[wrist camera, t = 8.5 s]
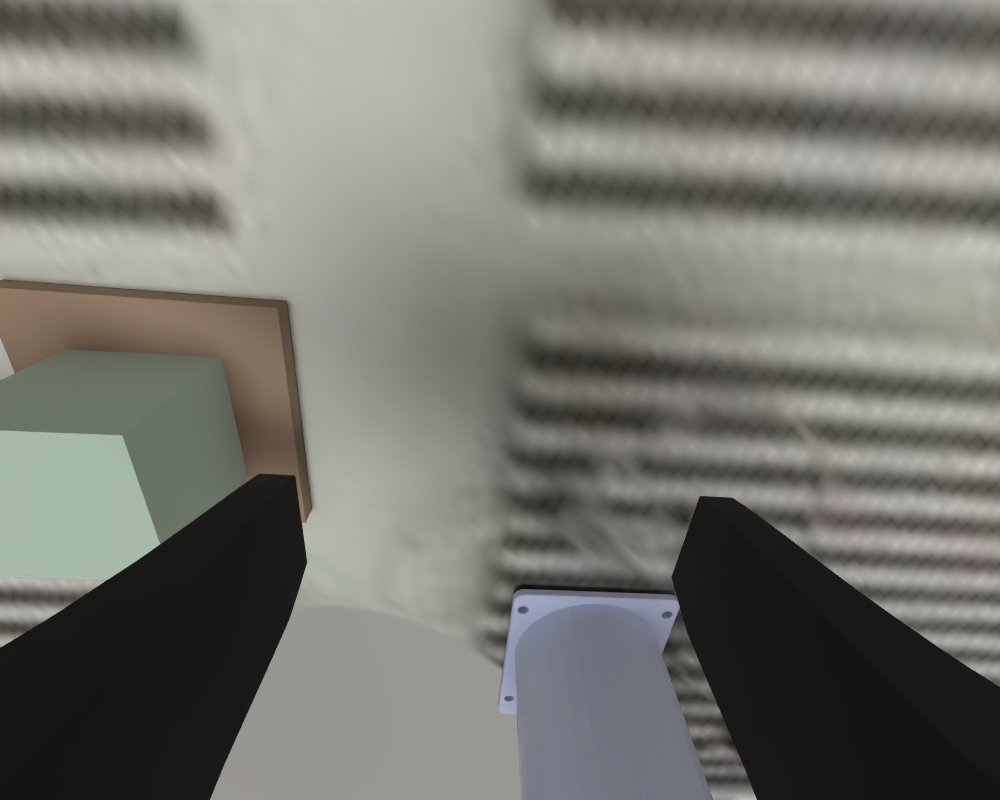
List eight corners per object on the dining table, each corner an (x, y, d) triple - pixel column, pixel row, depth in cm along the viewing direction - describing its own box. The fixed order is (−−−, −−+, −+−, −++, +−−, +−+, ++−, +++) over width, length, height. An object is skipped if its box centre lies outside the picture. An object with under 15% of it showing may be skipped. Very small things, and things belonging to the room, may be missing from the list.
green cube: (247, 477, 18) (172, 580, 14) (112, 472, 18) (-8, 576, 14) (221, 356, 16) (122, 435, 12) (65, 349, 16) (-97, 426, 11)
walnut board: (311, 509, 20) (305, 522, 20) (87, 498, 20) (72, 512, 19) (286, 301, 16) (277, 308, 15) (2, 280, 16) (-22, 286, 15)
